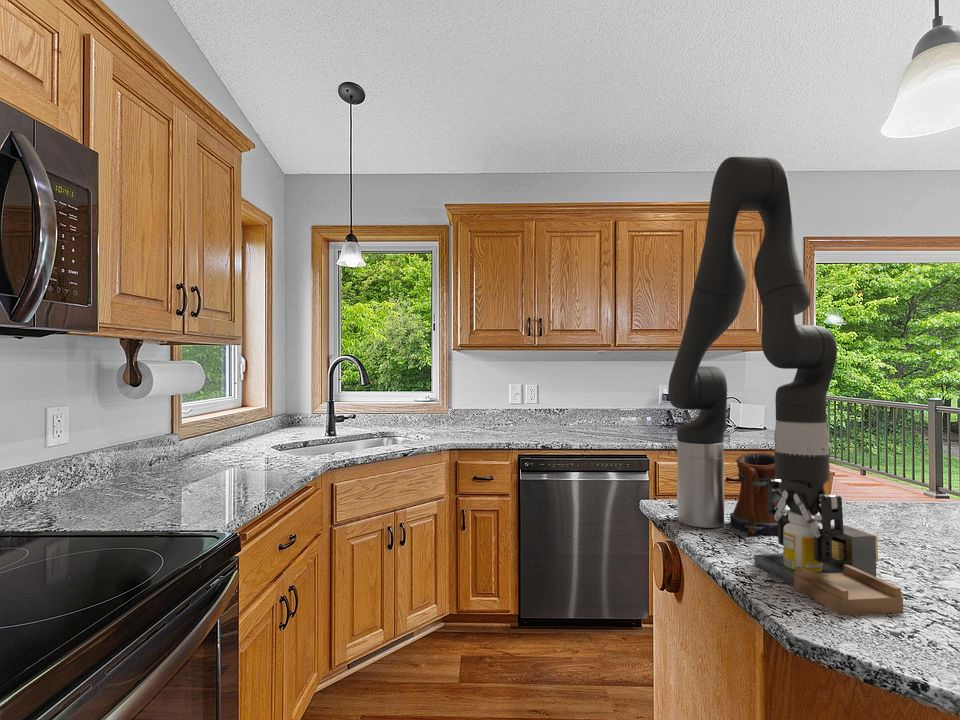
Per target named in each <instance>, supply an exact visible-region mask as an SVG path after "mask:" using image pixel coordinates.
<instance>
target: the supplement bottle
mask: <svg viewBox="0 0 960 720" xmlns="http://www.w3.org/2000/svg"><path fill="white" fill-rule="evenodd" d="M816 515H818V513H817V514H816ZM816 515H815V516H816ZM788 519H789V521H790V523H788V524H786V525H785V526H784V529H783V545H782V546H783V552H782V554H783V560H784V563H783V565H782V566H783V567H784V568H786V569H788V570H789V571H791V572H793V573H795V574H796V567H803V568H805V569H807V570H809V571H811V572H813V573H815V574H817V573H823V572H824V571H823V562H822V563H820V562H818V561H816V560H815V559H814V536H815V535H814V532H813V530H812V528H811V526H810V524H808V523H807V522H806V521H805V519H804V517H803V516H802V515H799V514H798V513H794V512H791V511H789V512H788Z"/></svg>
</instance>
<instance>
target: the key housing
mask: <svg viewBox="0 0 960 720" xmlns="http://www.w3.org/2000/svg"><path fill="white" fill-rule="evenodd" d="M831 526H832V528H834V525H831ZM852 527H853V526H848V525H846V524H845V525H844V524H843V530H844V534H843V536H835V537H833V538H840V539H842V540H845V541H846V560H836V559H834V558H831V561H830V562H831V563H833V564H835V565H837V566H840V567H842V568H843V565H850V566H852V567H855V568H857V569H859V570H861V571H864V572H866V573H868V574H870V575H873V576H875V577H877V562H876V536H877V535H876V536H874V535H875V534H873V535H871V534H872V533H870V532H867V531H865V532H863V531H864V530H862V531H860V530H861V529H859V530H857V529H858V528H856V527H853V528H852ZM855 528H856V529H855ZM866 532H867V533H866ZM869 533H870V534H869Z"/></svg>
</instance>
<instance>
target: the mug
mask: <svg viewBox="0 0 960 720" xmlns="http://www.w3.org/2000/svg"><path fill="white" fill-rule="evenodd" d="M735 462H736V465H737V467H738V470H737V471H738V473H737V475H738V477H737V478H738V479H739V482H740V488H739V489H740V490H739V495H738V499H737V503H736V505H735V508H734V510H733V512H730V514H729V518H730V519H729V520H730V525H731V527H732V526H733V527H732V528H734V529H737V530H740V531H743V532H746V531H747V532H746V533H747V535H748V536H751V537H753V536H755V535H756V534H757V535H764V534H765V535H767V536H776V535H777V534H778V527H777V521H776V520H775V518H774V516H773V515H770V514H769V513H768V480H774V479H779V478H777V477H776V476H775V454H772V453H769V452H756V453H755V452H750V453H745V454H743V455H740V456H738V458H737V459H736V460H735ZM779 480H781V479H779ZM777 505H778V501H775V507H777ZM755 533H756V534H755ZM777 536H778V535H777Z"/></svg>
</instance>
